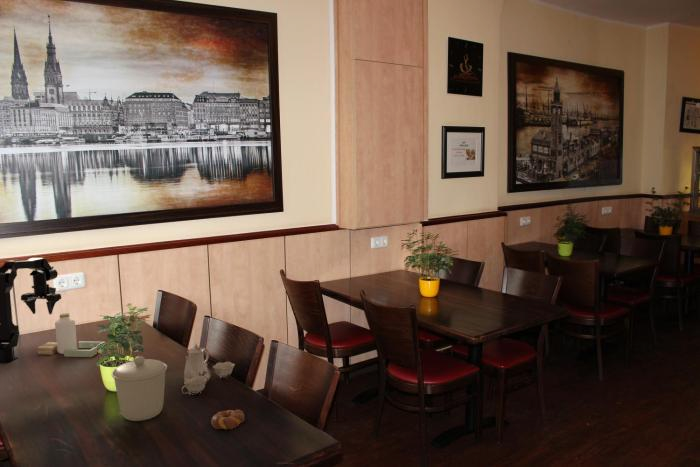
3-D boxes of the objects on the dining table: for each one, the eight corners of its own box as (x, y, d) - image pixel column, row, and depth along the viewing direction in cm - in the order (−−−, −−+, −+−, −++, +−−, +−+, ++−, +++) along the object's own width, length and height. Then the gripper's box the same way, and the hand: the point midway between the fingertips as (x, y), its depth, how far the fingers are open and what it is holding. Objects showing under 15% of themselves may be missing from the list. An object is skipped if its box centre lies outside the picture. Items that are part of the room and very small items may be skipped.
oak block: (52, 355, 264) (51, 347, 263) (38, 354, 264) (37, 347, 264) (62, 349, 272) (61, 342, 271) (48, 349, 272) (48, 342, 272)
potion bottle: (57, 350, 269) (54, 313, 267) (77, 347, 273) (74, 311, 270) (57, 355, 262) (53, 317, 259) (77, 353, 265) (74, 315, 263)
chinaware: (200, 404, 210) (202, 362, 207) (162, 395, 215) (164, 353, 212) (239, 377, 236) (241, 339, 234) (204, 369, 241) (206, 331, 239)
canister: (115, 408, 204) (111, 352, 201) (168, 400, 210) (165, 345, 207) (113, 430, 187) (109, 369, 184) (171, 421, 193) (167, 361, 190)
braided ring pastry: (232, 413, 199) (231, 403, 199) (252, 421, 192) (252, 411, 192) (203, 425, 190) (203, 414, 190) (224, 434, 183) (223, 423, 183)
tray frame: (91, 357, 259) (90, 350, 259) (64, 356, 260) (63, 350, 260) (106, 347, 272) (105, 341, 272) (80, 347, 273) (79, 341, 273)
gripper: (67, 280, 285) (70, 310, 287) (35, 279, 289) (37, 309, 291) (52, 284, 275) (54, 316, 276) (18, 283, 278) (21, 315, 280)
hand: (42, 314), depth 281 cm, fingers open, 9 cm apart
